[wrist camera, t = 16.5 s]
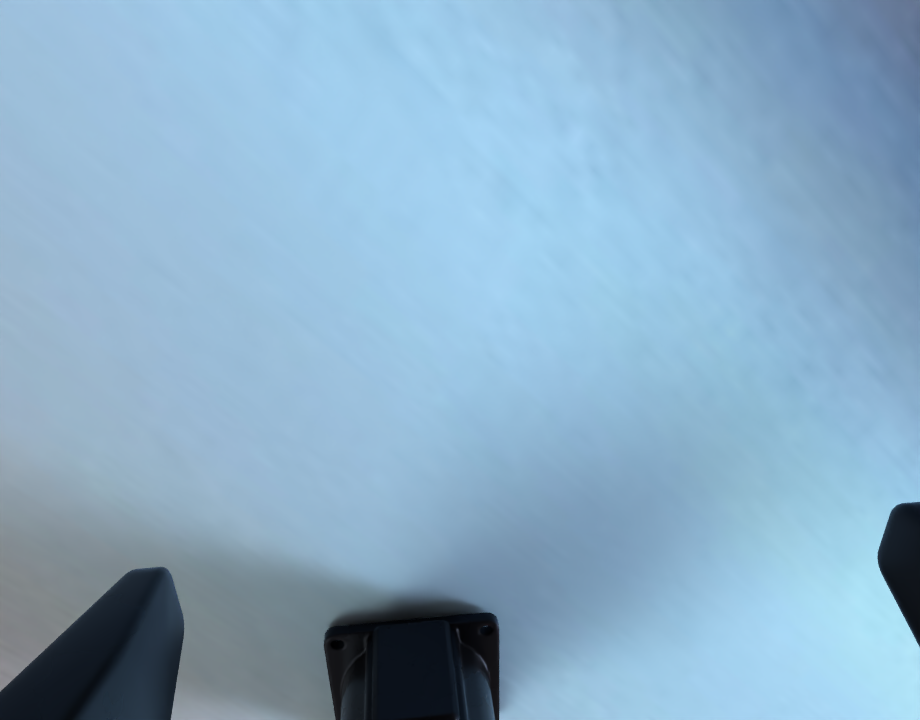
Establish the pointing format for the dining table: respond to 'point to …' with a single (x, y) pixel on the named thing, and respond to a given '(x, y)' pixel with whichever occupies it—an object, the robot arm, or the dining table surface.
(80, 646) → the robot arm
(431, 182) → the dining table surface
